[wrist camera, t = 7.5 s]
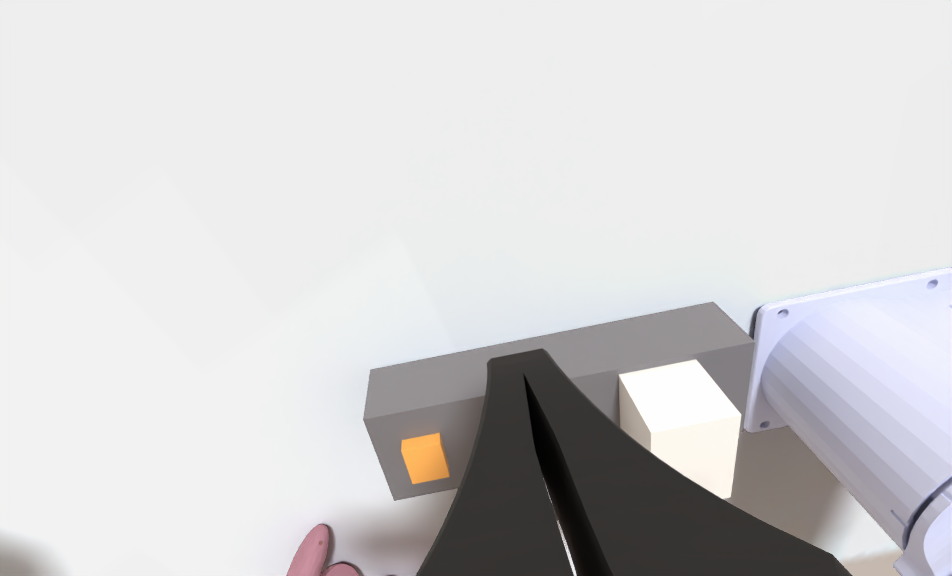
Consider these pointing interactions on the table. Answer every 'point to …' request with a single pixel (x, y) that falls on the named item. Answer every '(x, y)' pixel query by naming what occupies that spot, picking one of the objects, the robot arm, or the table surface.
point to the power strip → (597, 376)
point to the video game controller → (316, 557)
